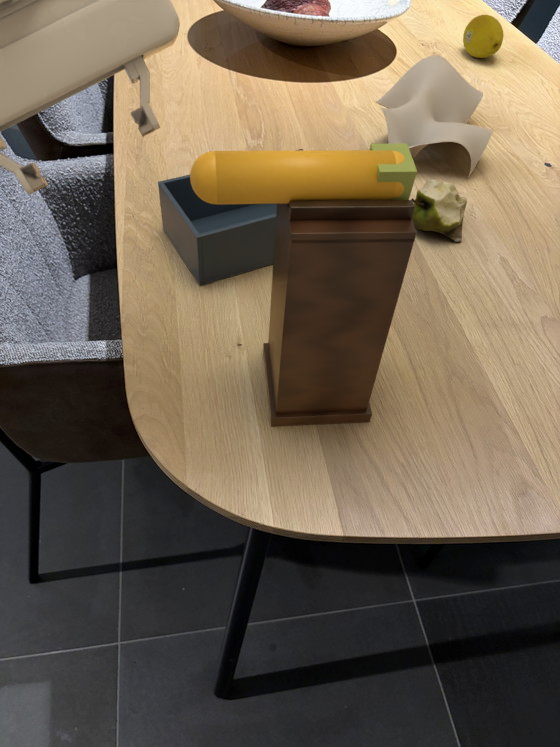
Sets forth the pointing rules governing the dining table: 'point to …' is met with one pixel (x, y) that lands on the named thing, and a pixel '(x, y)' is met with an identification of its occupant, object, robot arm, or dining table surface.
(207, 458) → the dining table surface
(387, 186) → the corn cob
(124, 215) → the dining table surface
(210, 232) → the blue-grey open box
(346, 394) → the pedestal
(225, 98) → the dining table surface
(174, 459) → the dining table surface
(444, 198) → the fruit
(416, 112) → the sculpture
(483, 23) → the lemon
